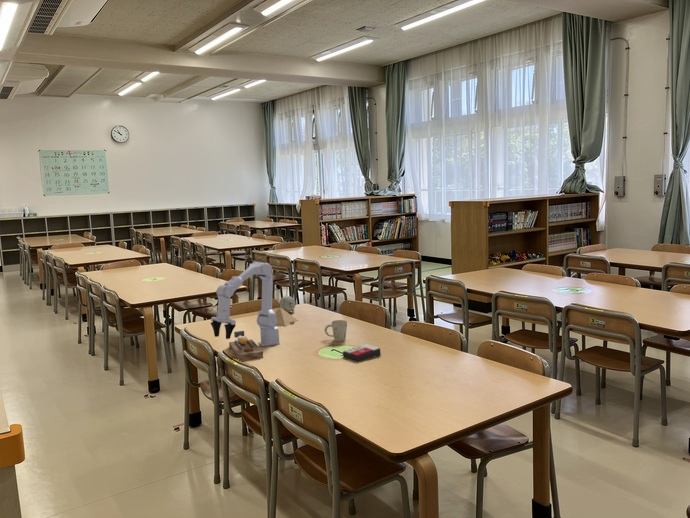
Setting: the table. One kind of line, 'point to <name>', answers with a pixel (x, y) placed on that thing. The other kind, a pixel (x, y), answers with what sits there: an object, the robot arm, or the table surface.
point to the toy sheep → (287, 304)
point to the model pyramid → (284, 318)
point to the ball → (243, 341)
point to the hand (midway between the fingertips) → (222, 337)
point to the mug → (338, 330)
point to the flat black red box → (361, 352)
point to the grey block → (239, 335)
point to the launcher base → (246, 350)
